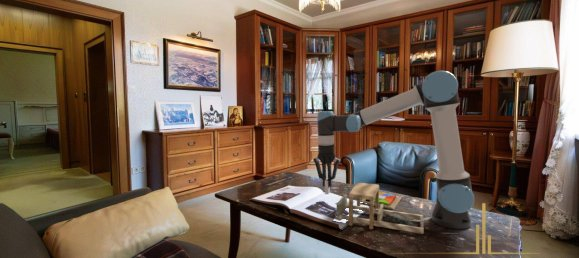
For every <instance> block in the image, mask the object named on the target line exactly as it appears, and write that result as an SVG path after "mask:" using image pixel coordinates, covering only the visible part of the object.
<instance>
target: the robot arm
mask: <svg viewBox="0 0 579 258" xmlns="http://www.w3.org/2000/svg"><path fill="white" fill-rule="evenodd" d="M458 89H459V81H458V79H457V78H456V76H455V75H454V74H453V73H452V72H450V71H447V70H435V71H433V72H431V73H430V74H427V76H426V77H425V78H424V79H423V81H422V82H420V83H418V84H415V85H414V86H413V88H412V89H409V90H407V91H404V92H402V93H399V94H397V95H394V96H391V97H389V98H387V99H385V100H382V101H380V102H378V103H375V104H373V105H370V106H368V107H365V108H362V109H361V110H359V111H356V112H353V113H350V114H342V115H339V114H338V115H335V114H334V111H332V110H326V111H318V113H317V120H316V122H317V143H318V145H317V146H318V147H317V150H318V154H317V156H316V157H315V158H313V163H314V165H315V168H316V171H317V176H318V179H321V180H322V187H324V195H329V194H330V192H331V187H332V181H333V180H335V179H336V175H337V173H338V167H339V163H340V162H341V158H337V157H336V154H335V132H343V133H344V132H345V133H356V132H360V130H361V127H365V126H368V125H369V124H372V123H375V122H378V121H380V120H382V119H385V118H387V117H390V116H393V115H395V114H398V113H401V112H404V111H407V110H409V109H412V108H414V107H417V106H420V105H421V106H424V108H425V110H427V112H429V113H430V120H431V125H432V132H433V140H434V145H435V146H434V147H435V152H436V159H437V164H438V165H437V166H438V167H437V168H438V170H437V173H436V174H435V183H436V201H435V204H434V207H433V209H432V211H431V214H430V219H431V221H432V222H434V223H435V224H436V225H439V226H442V227H444V228H448V229H454V230H455V229H456V230H457V229H458V230H464V229H469V228H470V227H472V219H471V215H470V213H469V210H471V209H472V208H473V206H474V204H475V194H474V192H473V190H472V189H473V188H472V182H471V175H470V173H469V172H467V171H466V170H465V165H464V159H463V153H462V151H463V150H462V147H461V146H462V145H461V144H462V143H461V139H460V133H459V125H458V118H457V111H456V110H457V107H458V106H459V105H460V100H459V99H460V98H459V91H458ZM333 162H334V164H332V163H333ZM320 163H321V164H320ZM332 165H333V169H332Z"/></svg>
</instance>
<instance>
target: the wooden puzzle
mask: <svg viewBox="0 0 579 258" xmlns="http://www.w3.org/2000/svg"><path fill="white" fill-rule="evenodd" d="M402 199H403V198H402V197H401V196H397V195H396V194H392V193H386V192H381V191H379V208H380V205H381V204H383V209H386V210H391V211H394V209H396V208H397V206H398V205H399V203H400V201H401V200H402ZM360 202H363V203H367V204H366V205H368V206H370V200H368V199H362V200H361V199H360ZM363 203H362V204H363ZM374 207H375V198H374Z"/></svg>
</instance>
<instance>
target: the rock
mask: <svg viewBox="0 0 579 258" xmlns="http://www.w3.org/2000/svg"><path fill="white" fill-rule="evenodd" d="M383 217H384V218H382V221H383V222H389V223H396V224H402V225H408V226H412V222H411V220H410V219H409V218H405V217H403V216H401V215H399V214H396V213H390V214H387V215H384V216H383Z"/></svg>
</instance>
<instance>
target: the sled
mask: <svg viewBox="0 0 579 258" xmlns="http://www.w3.org/2000/svg"><path fill="white" fill-rule="evenodd" d="M346 208H349V204H348V194H347V193H344V194H343V195H342V197H341V198H340V199H339V200H338V202H336V214H337V218H339V219H346V220H348V222H349V216H345V215H342V214H343V212H344V211H345V209H346ZM353 209H359V210H362V211H363V213H369V214H370V207H367V206H361V205H360V206H357V205H354V204H353ZM362 211H361V212H362ZM375 213H376V214H375ZM390 213H396V214H399V215H401V216H403V217H405V218H406V219H409V220H410V219H411V220H416V221H417V220H418V221H419V222H420V226H419V227H418V226H414V225H413V226H412V225H409V224H408V225H402V224H396V223H389V222H383V217H384V216H386V215H387V214H390ZM374 214H375V215H377V220H375V219H374V223H373V227H374V226H375V227H379V228H380V227H381V228H385V229H386V228H387V229H391V230H398V231H405V232H408V233H409V232H410V233H416V234H421V235H423V234H424V233H425V232H424V231H425V230H424V229H425V228H424V214H418V213H410V212H403V211H402V212H401V211H395V210H390V209H384V208H383V204H381V205H380V207H379V209H375V207H374ZM353 223H355V224H356V223H357V224H362V225H368V226H370V218H362V217H359V216H358V217H356V216H353Z"/></svg>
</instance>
